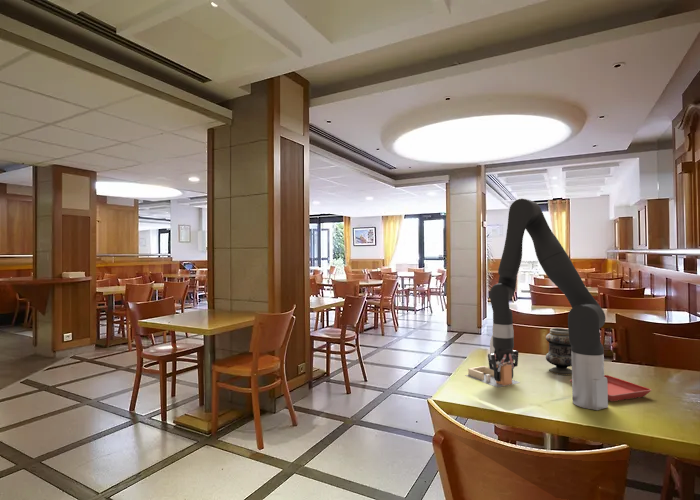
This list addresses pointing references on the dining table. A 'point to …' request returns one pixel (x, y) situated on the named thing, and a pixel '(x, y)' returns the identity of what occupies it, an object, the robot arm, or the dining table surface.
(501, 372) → the orange rectangular block
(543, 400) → the dining table surface
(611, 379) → the plant saucer
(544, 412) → the dining table surface
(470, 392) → the dining table surface
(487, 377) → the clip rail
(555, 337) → the carved stone vase
